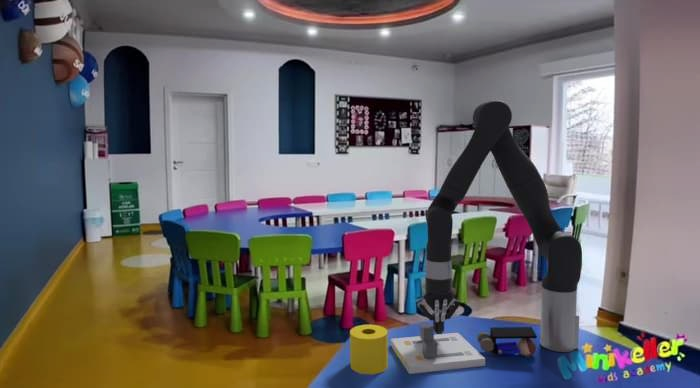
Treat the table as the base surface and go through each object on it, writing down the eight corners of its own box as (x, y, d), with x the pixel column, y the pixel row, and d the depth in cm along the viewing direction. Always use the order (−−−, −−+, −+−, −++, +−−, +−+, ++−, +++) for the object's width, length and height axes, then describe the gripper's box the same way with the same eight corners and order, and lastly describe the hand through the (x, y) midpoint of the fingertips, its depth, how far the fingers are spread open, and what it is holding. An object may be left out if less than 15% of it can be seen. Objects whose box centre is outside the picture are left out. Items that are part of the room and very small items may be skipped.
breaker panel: (457, 339, 144) (457, 332, 143) (485, 365, 126) (485, 358, 126) (390, 345, 140) (390, 338, 140) (409, 373, 122) (409, 366, 122)
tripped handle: (430, 336, 139) (430, 324, 139) (434, 341, 136) (434, 328, 136) (419, 337, 139) (419, 325, 138) (423, 342, 136) (423, 329, 135)
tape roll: (391, 359, 131) (391, 326, 130) (382, 376, 121) (382, 340, 120) (356, 355, 134) (356, 323, 133) (345, 371, 124) (345, 336, 123)
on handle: (433, 352, 129) (433, 338, 129) (437, 357, 126) (437, 343, 126) (422, 353, 128) (422, 339, 128) (426, 358, 125) (426, 344, 125)
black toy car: (482, 364, 130) (540, 360, 128) (479, 337, 130) (537, 333, 128) (478, 353, 137) (533, 349, 135) (476, 328, 136) (530, 323, 134)
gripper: (455, 270, 141) (454, 326, 143) (412, 273, 139) (412, 330, 141) (465, 276, 134) (465, 336, 136) (420, 280, 131) (421, 340, 133)
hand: (438, 333), depth 138 cm, fingers closed
